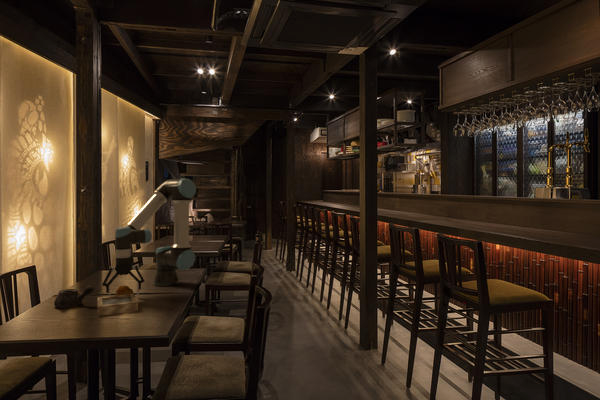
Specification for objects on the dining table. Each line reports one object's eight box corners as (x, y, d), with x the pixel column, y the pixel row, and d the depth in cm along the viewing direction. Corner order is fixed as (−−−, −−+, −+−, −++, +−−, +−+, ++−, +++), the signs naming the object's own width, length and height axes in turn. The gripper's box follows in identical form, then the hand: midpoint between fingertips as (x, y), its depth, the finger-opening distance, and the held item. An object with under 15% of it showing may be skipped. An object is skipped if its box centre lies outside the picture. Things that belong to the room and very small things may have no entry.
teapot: (46, 311, 195) (46, 290, 195) (60, 303, 210) (60, 283, 210) (88, 309, 198) (88, 288, 198) (99, 301, 213) (99, 282, 213)
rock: (113, 308, 215) (117, 291, 221) (130, 309, 217) (133, 292, 224) (114, 297, 207) (117, 280, 214) (131, 298, 210) (134, 281, 217)
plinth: (134, 301, 211) (134, 293, 211) (138, 310, 194) (137, 302, 194) (97, 306, 204) (97, 297, 204) (98, 315, 187) (97, 306, 187)
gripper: (147, 254, 224) (148, 293, 224) (96, 257, 212) (97, 298, 213) (149, 256, 217) (150, 296, 217) (96, 259, 206) (97, 302, 206)
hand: (123, 297), depth 215 cm, fingers open, 13 cm apart
